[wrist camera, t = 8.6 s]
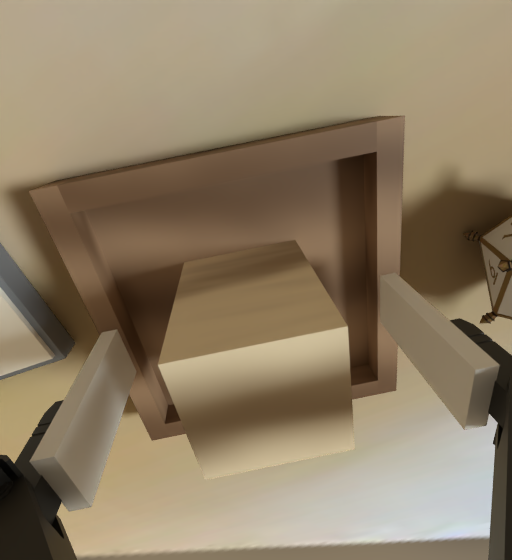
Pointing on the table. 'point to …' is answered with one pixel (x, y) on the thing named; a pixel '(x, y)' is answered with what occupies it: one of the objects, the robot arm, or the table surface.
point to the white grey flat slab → (26, 324)
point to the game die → (497, 267)
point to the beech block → (258, 361)
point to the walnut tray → (236, 237)
